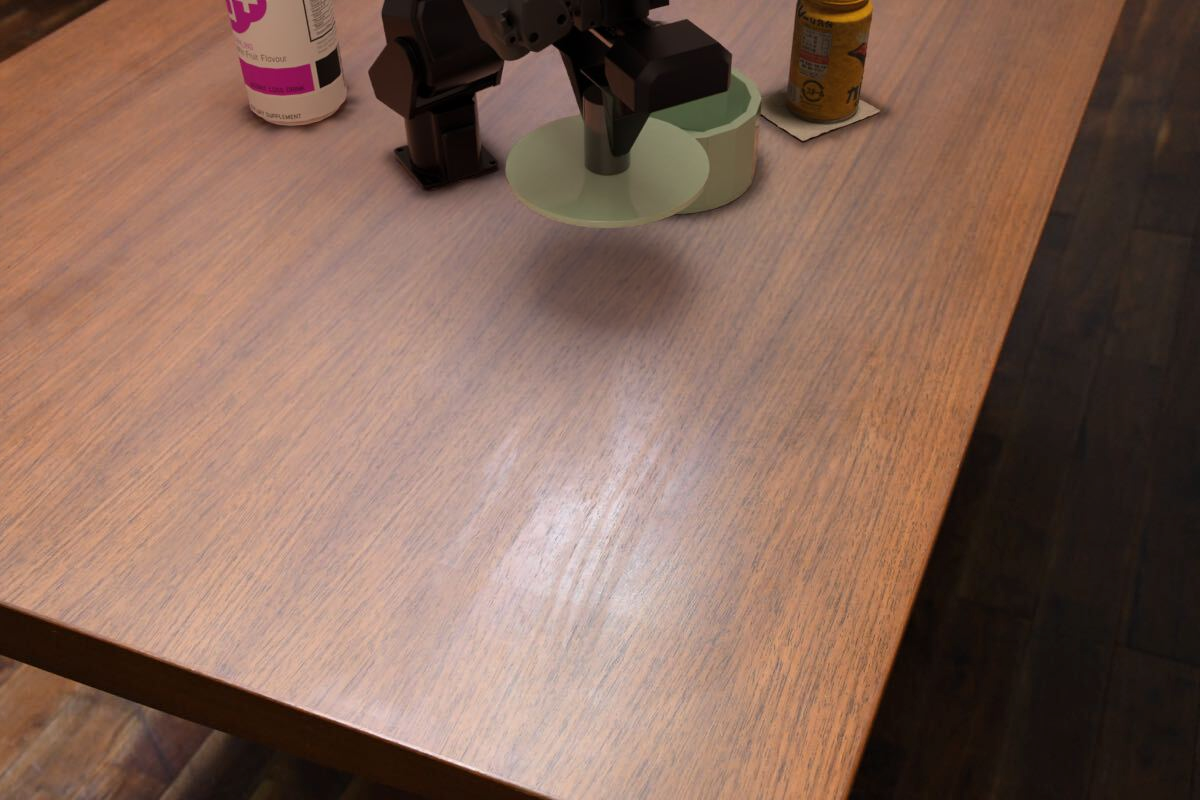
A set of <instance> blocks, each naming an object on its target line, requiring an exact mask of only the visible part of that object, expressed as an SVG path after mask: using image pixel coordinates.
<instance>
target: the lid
mask: <svg viewBox="0 0 1200 800" xmlns="http://www.w3.org/2000/svg"><path fill="white" fill-rule="evenodd" d="M506 157H507V158H506V161H505V171H504V172H505V178H506V183H507V185H508V188H509V190H510V191H511V193H512V194H513V195H514V197H515V199H517V200H518V201H519V202H520V203H521V204H522V205H523V206H525V207H526V208H528V209H529V210H530V211H533V212H535V213H536V214H538V215H540V216H542V217H545V218H547V219H549V220H552V221H555V222H559V223H562V224H567V225H572V226H578V227H584V228H592V229H593V228H594V229H619V228H621V229H622V228H630V227H631V228H632V227H636V226H642V225H647V224H651V223H654V222H655V223H656V222H658V221H661V220H663V219H666V218H669V217H672V216H673V215H677V214H676V213H678V212H680V211H681V210H683V209H684V208H686V207H688V206H689V205H690V204H692V203H693V202H694V201H695V200H696V199H697V198H698V197H699V196H700V195H701V193H702V192H703V191H704V189H705V187H706V185H707V182H708V179H709V169H710V164H709V159H708V156H707V154H706V151H705V150H704V148H703V147H702V145H701V144H700V143H699V142H698V141H697V140H696V139H695V138H694V137H693V136H691V135H690V134H689V133H687V132H686V131H684V130H682V129H681V128H679V127H677V126H675V125H672V124H670V123H668V122H665V121H662V120H659V119H655V118H652V117H649V118H648V120H647V122H646V123H645V125H644V127H643V129H642V130H641V132H640V134H639V136H638V138H637V139H636V141H635V143H634V145H633V146H632V148H631V150H630V152H629V153H628V154H626V155H623V156H620V157H614V156H613V155H612V154H611V151H610V146H609V141H608V135H607V128H606V120H605V113H604V105H603V98H602V90H601V89H600V88H599V87H598V86H597V85H596V84H593V85H590V86H588V87H587V88H586V89H585V90H584V92H583V119H582V116H581V113H580V114H574V115H570V116H566V117H561V118H559V119H555V120H552V121H549V122H547V123H544V124H542V125H539V126H538V127H536V128H534V129H532V130H530V131H529V132H528V133H526V134H524V136H522V137H521V138H520V139H519V140H518V141H516V143H515V144H514V145H513V146H512V148H511V149H510V151H509V152H508V155H507V156H506Z"/></svg>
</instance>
